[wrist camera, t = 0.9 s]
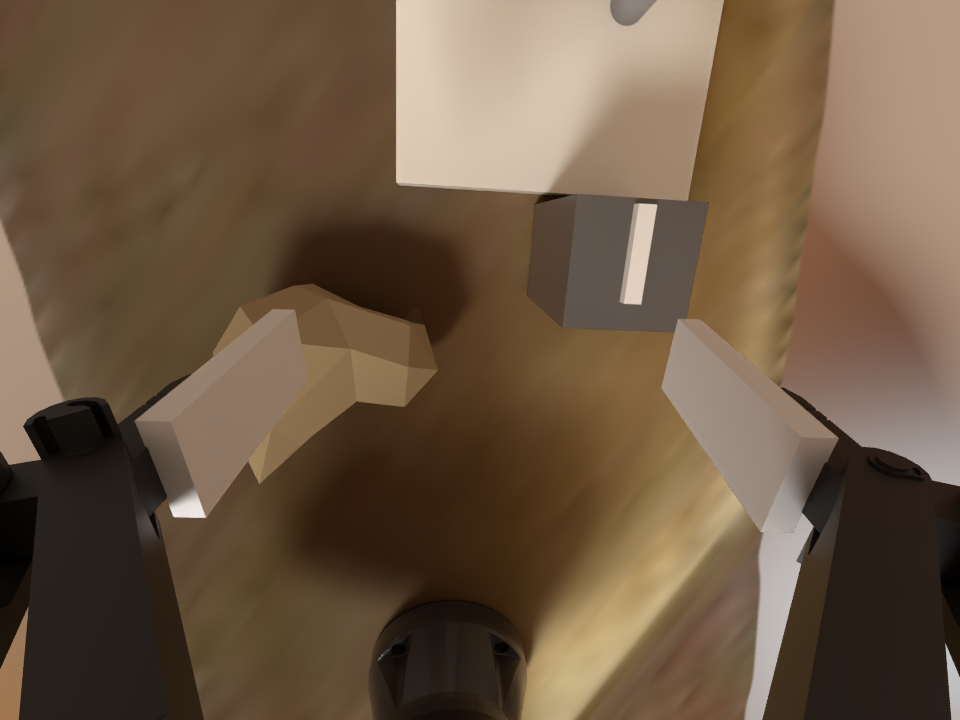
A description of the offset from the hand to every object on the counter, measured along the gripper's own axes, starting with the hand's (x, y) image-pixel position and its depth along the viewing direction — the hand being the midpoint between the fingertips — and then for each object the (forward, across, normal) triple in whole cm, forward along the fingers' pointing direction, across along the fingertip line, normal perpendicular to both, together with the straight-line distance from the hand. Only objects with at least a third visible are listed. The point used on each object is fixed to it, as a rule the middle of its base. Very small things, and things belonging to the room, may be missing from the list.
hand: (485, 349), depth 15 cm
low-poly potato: (+17, +11, +8) cm, 22 cm away
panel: (+21, -4, -11) cm, 24 cm away
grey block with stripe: (+19, -7, +1) cm, 20 cm away
